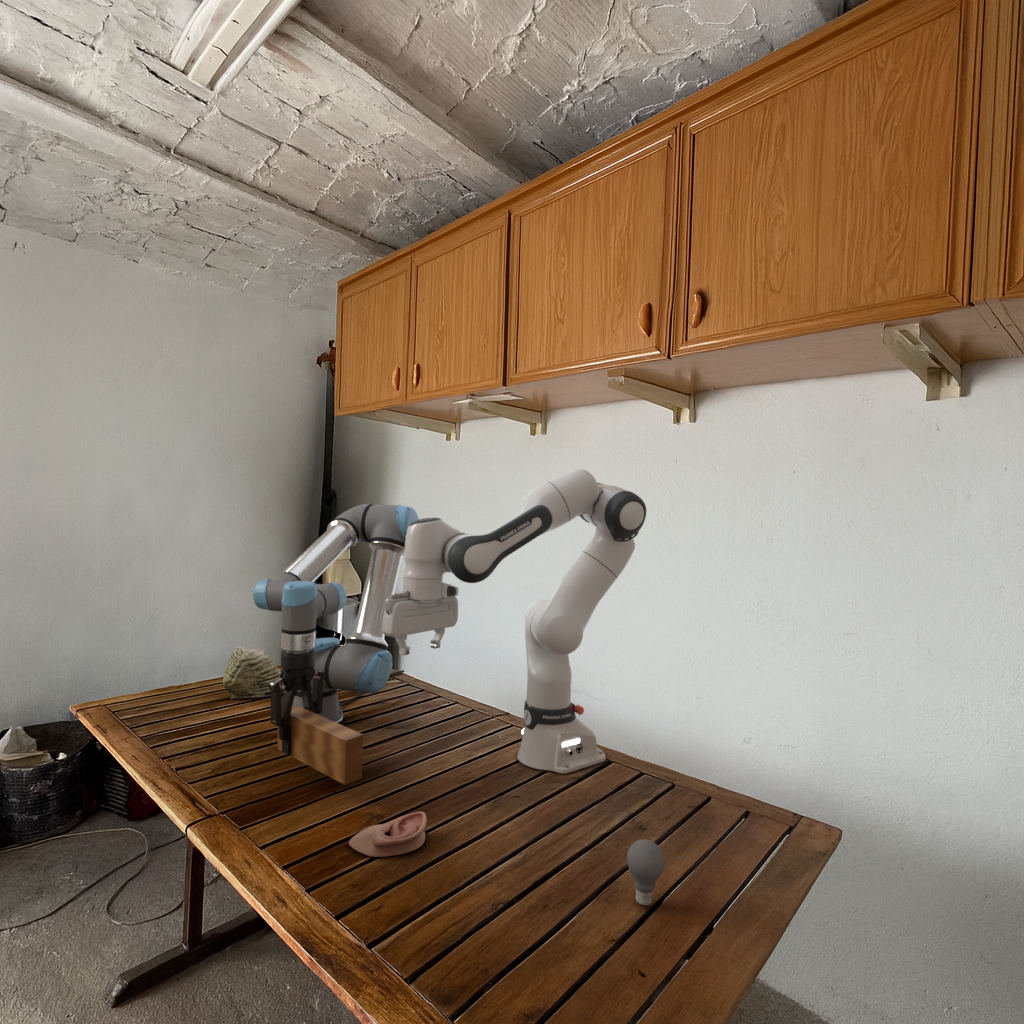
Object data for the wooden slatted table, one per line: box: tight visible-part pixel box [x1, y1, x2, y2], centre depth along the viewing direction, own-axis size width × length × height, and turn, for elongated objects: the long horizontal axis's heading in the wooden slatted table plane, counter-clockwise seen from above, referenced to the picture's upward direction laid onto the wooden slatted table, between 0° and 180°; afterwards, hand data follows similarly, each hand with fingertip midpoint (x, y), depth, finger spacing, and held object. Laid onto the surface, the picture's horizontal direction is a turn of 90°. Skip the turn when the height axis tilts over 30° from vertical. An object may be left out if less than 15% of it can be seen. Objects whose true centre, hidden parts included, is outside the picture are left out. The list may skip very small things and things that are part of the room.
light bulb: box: [626, 838, 666, 906], centre depth 102 cm, size 6×6×10 cm
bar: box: [276, 705, 364, 786], centre depth 141 cm, size 26×4×10 cm, turn 51°
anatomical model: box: [348, 811, 428, 858], centre depth 117 cm, size 13×4×12 cm
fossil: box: [222, 646, 284, 699], centre depth 198 cm, size 9×18×15 cm, turn 132°
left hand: (296, 749), depth 146 cm, fingers closed on bar, 4 cm apart
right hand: (420, 651), depth 142 cm, fingers open, 8 cm apart
